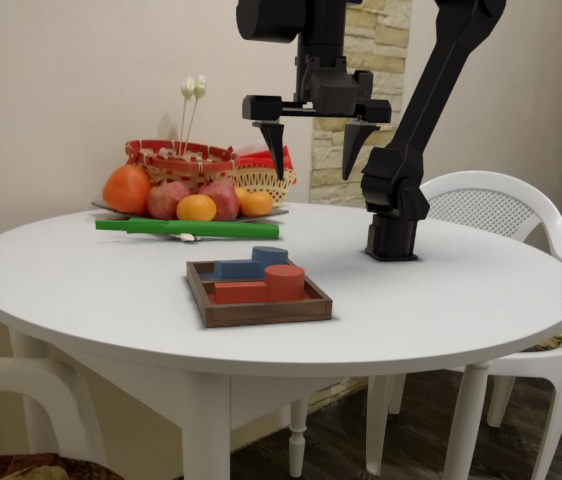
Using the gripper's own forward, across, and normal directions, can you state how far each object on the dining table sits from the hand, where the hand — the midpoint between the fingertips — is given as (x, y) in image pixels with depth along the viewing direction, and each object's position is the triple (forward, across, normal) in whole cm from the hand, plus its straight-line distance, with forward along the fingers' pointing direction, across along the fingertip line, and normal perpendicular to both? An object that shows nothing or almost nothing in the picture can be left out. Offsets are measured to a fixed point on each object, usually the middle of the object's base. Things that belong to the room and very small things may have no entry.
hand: (313, 180), depth 74 cm
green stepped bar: (+12, -15, +18) cm, 26 cm away
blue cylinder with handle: (+10, -11, -9) cm, 17 cm away
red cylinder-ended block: (+11, -11, -16) cm, 22 cm away
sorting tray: (+12, -11, -12) cm, 20 cm away
